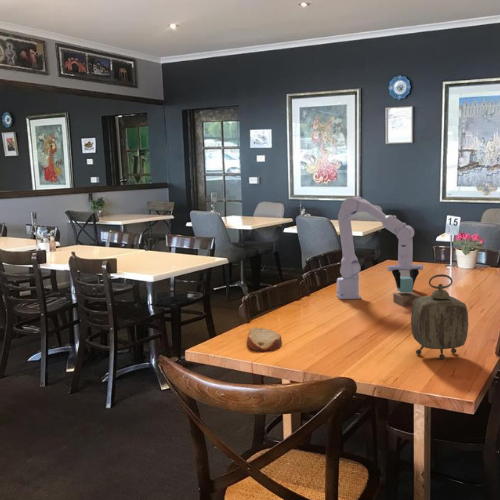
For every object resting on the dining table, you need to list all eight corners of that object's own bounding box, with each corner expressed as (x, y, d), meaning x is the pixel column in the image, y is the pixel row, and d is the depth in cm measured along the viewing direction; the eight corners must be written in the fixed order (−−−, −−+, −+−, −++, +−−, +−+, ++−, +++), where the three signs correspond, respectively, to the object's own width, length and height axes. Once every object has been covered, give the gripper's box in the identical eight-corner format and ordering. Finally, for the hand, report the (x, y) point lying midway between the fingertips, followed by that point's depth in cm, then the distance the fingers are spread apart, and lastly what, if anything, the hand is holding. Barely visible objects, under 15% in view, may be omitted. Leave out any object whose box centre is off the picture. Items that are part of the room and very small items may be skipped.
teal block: (400, 292, 227) (401, 279, 227) (397, 289, 232) (397, 276, 231) (412, 291, 228) (413, 278, 227) (408, 289, 232) (409, 276, 232)
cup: (411, 292, 248) (411, 270, 247) (394, 290, 253) (394, 269, 251) (418, 289, 254) (418, 267, 253) (401, 287, 259) (401, 266, 258)
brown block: (402, 307, 225) (402, 297, 224) (393, 302, 232) (393, 293, 232) (420, 305, 226) (420, 296, 226) (410, 301, 234) (410, 291, 233)
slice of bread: (257, 331, 197) (257, 321, 196) (298, 340, 185) (298, 329, 184) (222, 344, 183) (222, 333, 183) (265, 355, 172) (264, 343, 171)
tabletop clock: (457, 351, 169) (459, 271, 165) (470, 361, 160) (472, 276, 156) (410, 353, 168) (411, 272, 165) (420, 363, 159) (421, 278, 156)
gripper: (390, 257, 224) (390, 290, 226) (426, 256, 224) (425, 288, 226) (385, 254, 231) (385, 286, 232) (420, 253, 231) (419, 285, 233)
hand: (404, 287), depth 230 cm, fingers closed on teal block, 5 cm apart
